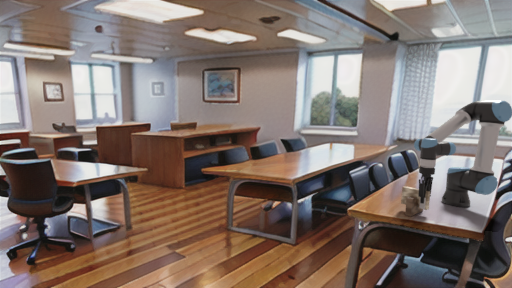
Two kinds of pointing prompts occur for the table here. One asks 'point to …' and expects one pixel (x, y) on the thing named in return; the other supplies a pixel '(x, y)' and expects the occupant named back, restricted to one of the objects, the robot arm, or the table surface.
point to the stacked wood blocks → (414, 195)
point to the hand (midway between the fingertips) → (423, 207)
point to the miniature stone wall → (412, 206)
